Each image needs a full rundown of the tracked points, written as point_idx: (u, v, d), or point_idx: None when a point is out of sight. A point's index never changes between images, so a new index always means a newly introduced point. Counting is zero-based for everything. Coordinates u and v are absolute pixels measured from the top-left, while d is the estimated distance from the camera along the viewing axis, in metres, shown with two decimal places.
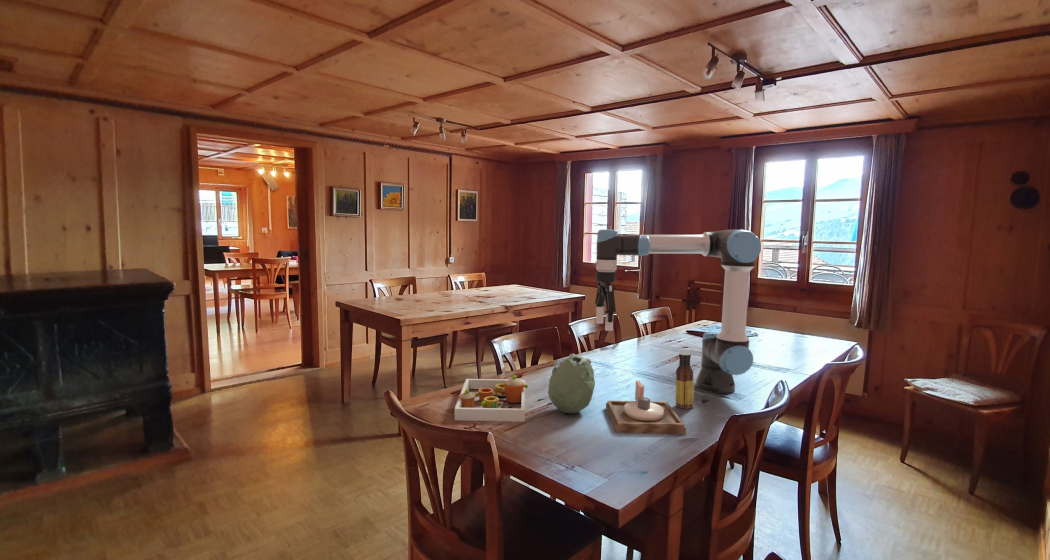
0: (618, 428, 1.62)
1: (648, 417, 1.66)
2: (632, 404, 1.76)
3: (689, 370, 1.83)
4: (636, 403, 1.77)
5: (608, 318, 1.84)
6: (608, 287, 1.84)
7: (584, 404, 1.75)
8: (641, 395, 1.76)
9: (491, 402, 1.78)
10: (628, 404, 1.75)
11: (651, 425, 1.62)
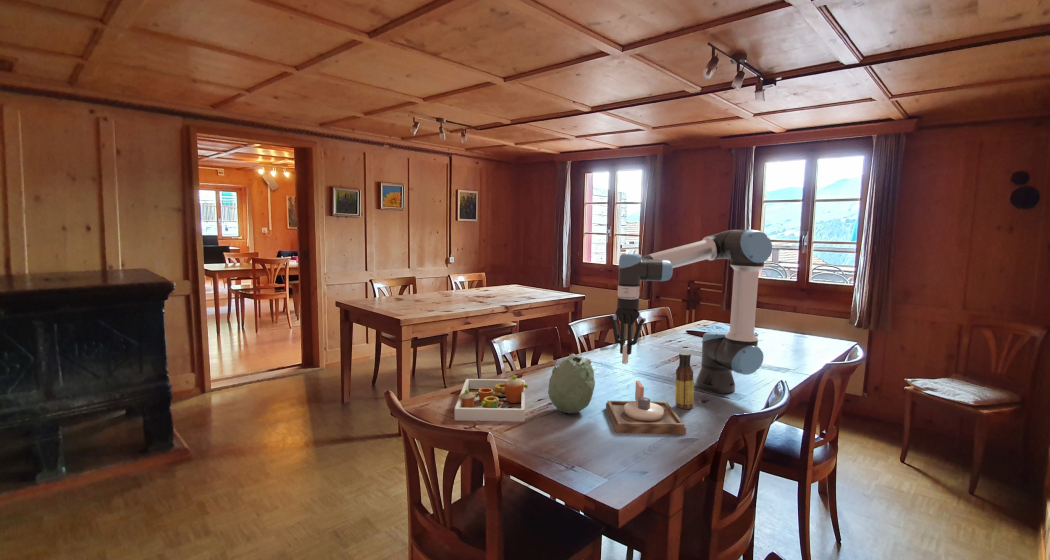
0: (618, 428, 1.62)
1: (648, 417, 1.66)
2: (632, 404, 1.76)
3: (689, 370, 1.83)
4: (636, 403, 1.77)
5: (628, 351, 1.81)
6: (643, 321, 1.77)
7: (584, 404, 1.75)
8: (641, 395, 1.76)
9: (491, 402, 1.78)
10: (628, 404, 1.75)
11: (651, 425, 1.62)
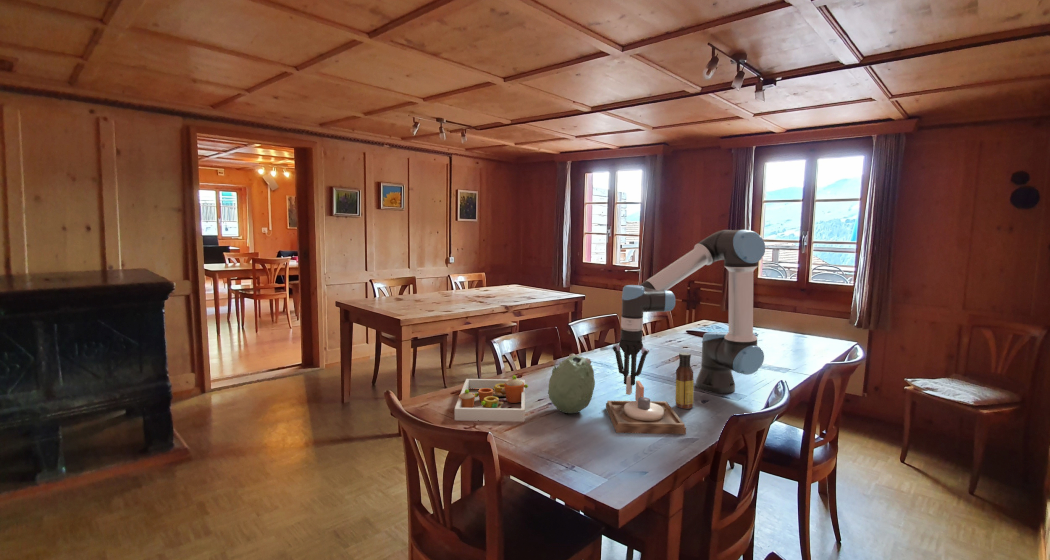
0: (618, 428, 1.62)
1: (648, 417, 1.66)
2: (632, 404, 1.76)
3: (689, 370, 1.83)
4: (636, 403, 1.77)
5: (632, 381, 1.82)
6: (647, 353, 1.78)
7: (584, 404, 1.75)
8: (641, 395, 1.76)
9: (491, 402, 1.78)
10: (628, 404, 1.76)
11: (651, 425, 1.62)
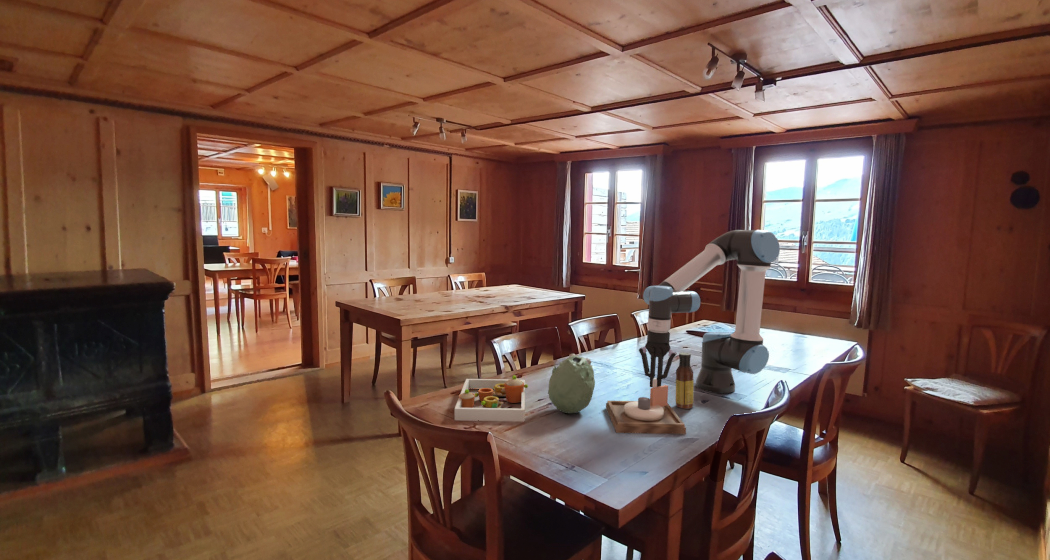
0: (618, 428, 1.62)
1: (629, 413, 1.69)
2: None
3: (689, 370, 1.83)
4: None
5: (658, 384, 1.78)
6: (674, 355, 1.74)
7: (584, 404, 1.75)
8: (651, 397, 1.74)
9: (491, 402, 1.78)
10: None
11: (651, 425, 1.62)
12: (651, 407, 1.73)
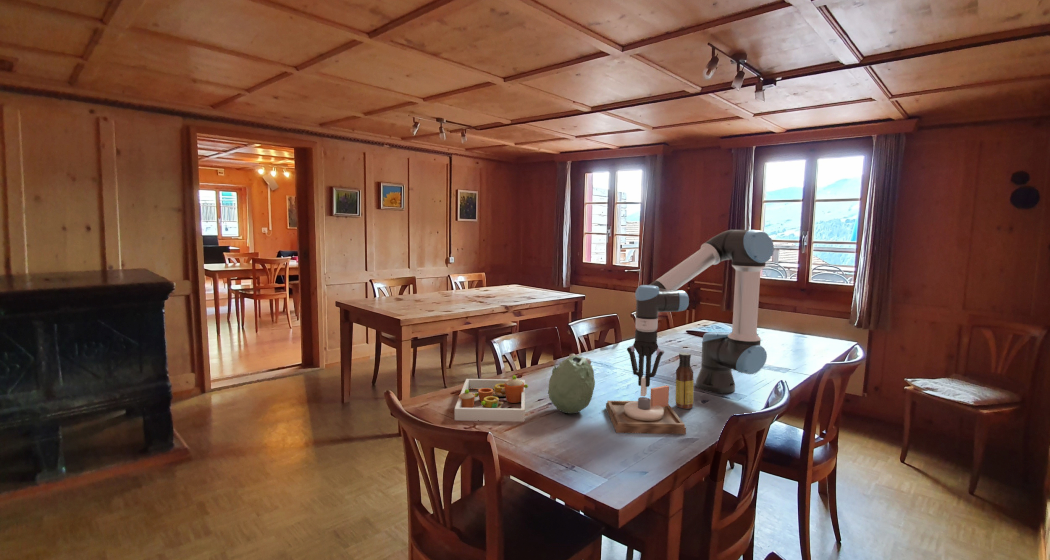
0: (618, 428, 1.62)
1: (629, 413, 1.69)
2: None
3: (689, 370, 1.83)
4: None
5: (647, 383, 1.79)
6: (662, 354, 1.76)
7: (584, 404, 1.75)
8: (651, 397, 1.74)
9: (491, 402, 1.78)
10: None
11: (651, 425, 1.62)
12: (651, 407, 1.73)
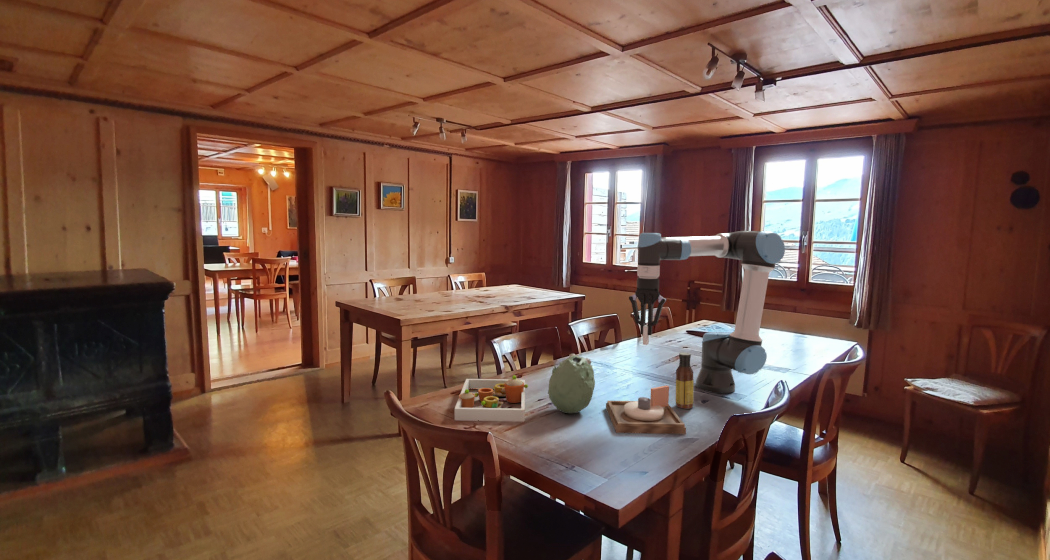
0: (618, 428, 1.62)
1: (629, 413, 1.69)
2: None
3: (689, 370, 1.83)
4: None
5: (649, 331, 1.78)
6: (664, 301, 1.75)
7: (584, 404, 1.75)
8: (651, 397, 1.74)
9: (491, 402, 1.78)
10: None
11: (651, 425, 1.62)
12: (651, 407, 1.73)
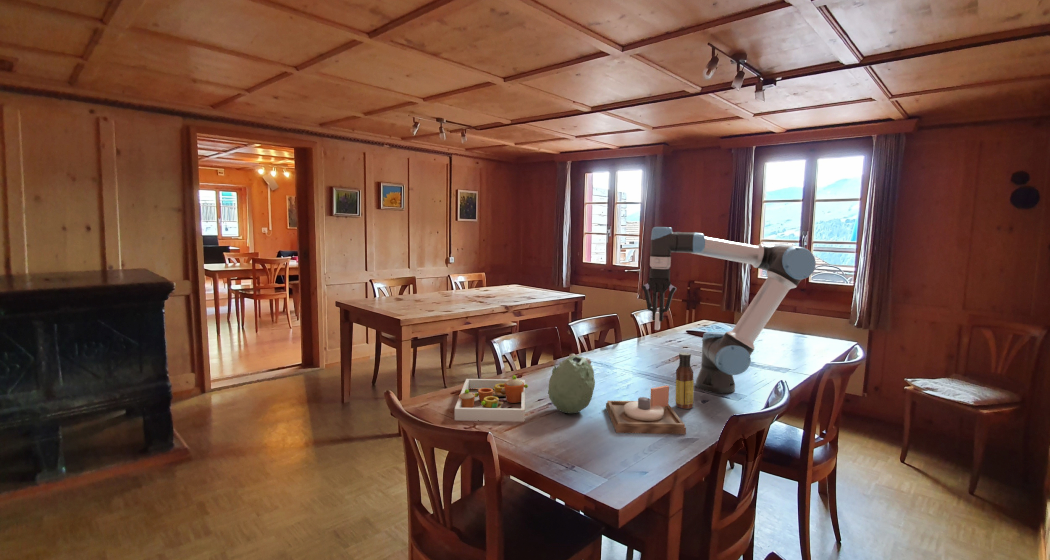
0: (618, 428, 1.62)
1: (629, 413, 1.69)
2: None
3: (689, 370, 1.83)
4: None
5: (661, 317, 1.93)
6: (675, 289, 1.90)
7: (584, 404, 1.75)
8: (651, 397, 1.74)
9: (491, 402, 1.78)
10: None
11: (651, 425, 1.62)
12: (651, 407, 1.73)
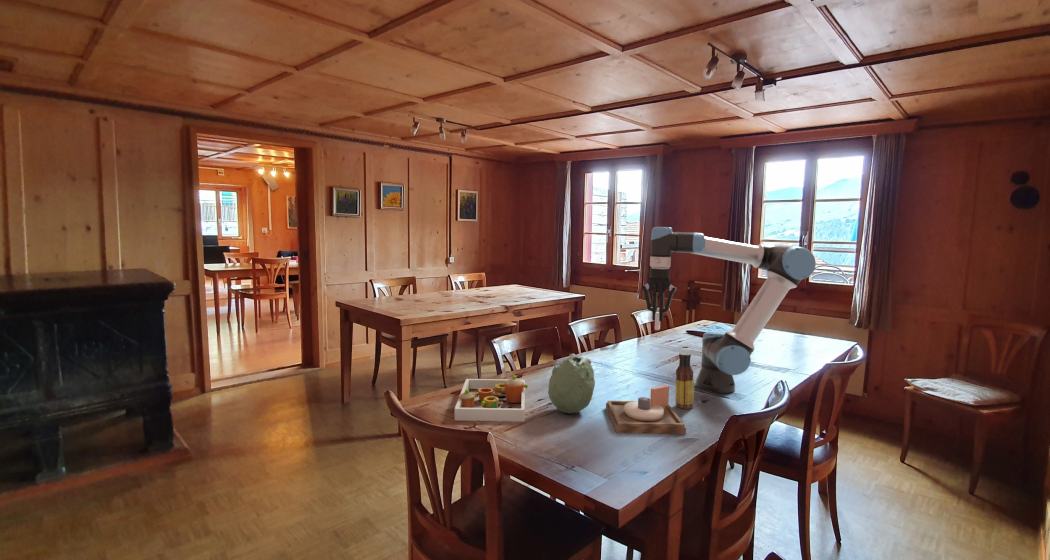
0: (618, 428, 1.62)
1: (629, 413, 1.69)
2: None
3: (689, 370, 1.83)
4: None
5: (661, 317, 1.93)
6: (675, 289, 1.90)
7: (584, 404, 1.75)
8: (651, 397, 1.74)
9: (491, 402, 1.78)
10: None
11: (651, 425, 1.62)
12: (651, 407, 1.73)
